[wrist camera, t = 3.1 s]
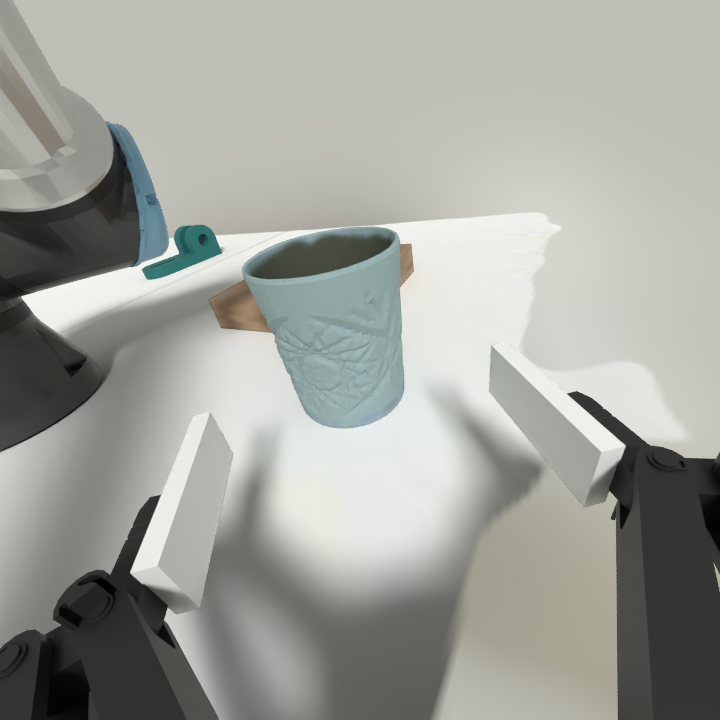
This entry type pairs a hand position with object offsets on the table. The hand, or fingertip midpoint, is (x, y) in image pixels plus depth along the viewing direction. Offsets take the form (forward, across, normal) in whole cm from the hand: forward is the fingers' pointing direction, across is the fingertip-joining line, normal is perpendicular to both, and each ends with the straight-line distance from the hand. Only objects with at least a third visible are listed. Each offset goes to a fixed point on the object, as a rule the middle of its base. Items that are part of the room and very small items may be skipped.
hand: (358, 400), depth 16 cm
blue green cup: (+10, 0, -7) cm, 12 cm away
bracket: (+74, -33, -7) cm, 81 cm away
